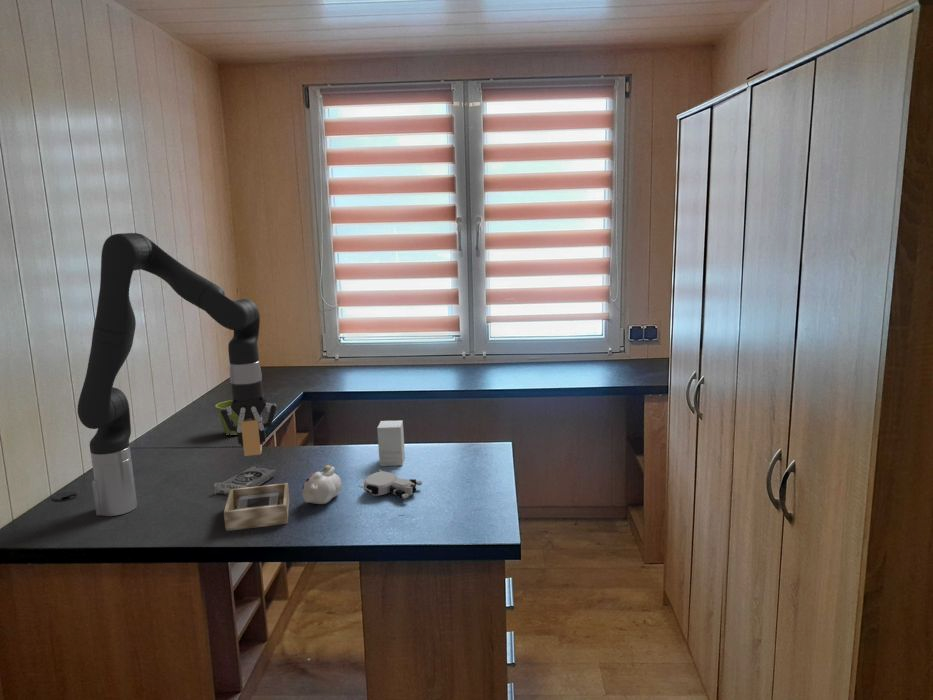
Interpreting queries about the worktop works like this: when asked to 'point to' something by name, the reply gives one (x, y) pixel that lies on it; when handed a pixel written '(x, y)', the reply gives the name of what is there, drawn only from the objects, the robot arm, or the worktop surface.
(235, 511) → the walled box
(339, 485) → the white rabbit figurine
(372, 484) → the robot toy
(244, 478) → the graphics card
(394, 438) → the supplement box
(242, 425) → the orange rectangular block
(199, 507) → the worktop surface
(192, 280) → the robot arm
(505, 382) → the worktop surface
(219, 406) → the plant pot
